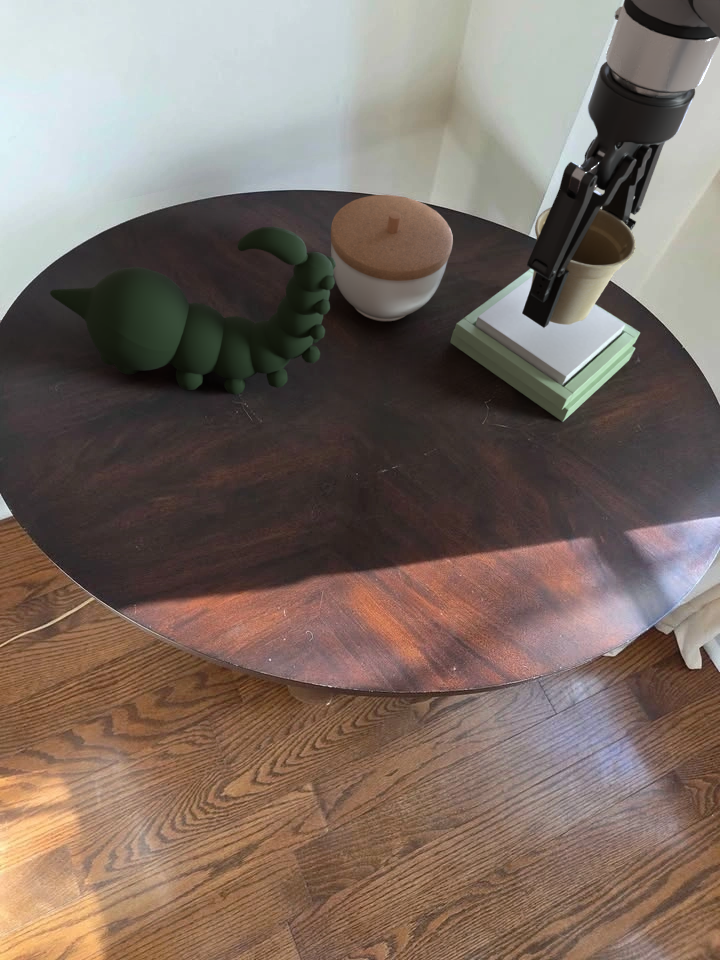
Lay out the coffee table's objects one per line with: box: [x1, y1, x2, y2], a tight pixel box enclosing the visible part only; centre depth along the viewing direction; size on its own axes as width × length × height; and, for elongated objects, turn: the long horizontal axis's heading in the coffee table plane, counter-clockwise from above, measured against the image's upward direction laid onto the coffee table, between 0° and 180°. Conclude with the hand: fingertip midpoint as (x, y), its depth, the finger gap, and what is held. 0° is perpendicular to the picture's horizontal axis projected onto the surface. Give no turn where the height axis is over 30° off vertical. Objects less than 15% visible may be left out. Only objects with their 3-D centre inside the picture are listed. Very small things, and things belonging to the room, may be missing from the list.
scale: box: [450, 268, 641, 423], centre depth 83 cm, size 15×14×4 cm
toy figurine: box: [49, 226, 336, 396], centre depth 71 cm, size 9×19×25 cm
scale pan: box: [475, 276, 625, 386], centre depth 82 cm, size 11×11×2 cm
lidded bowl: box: [330, 194, 454, 322], centre depth 83 cm, size 13×13×11 cm
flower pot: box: [531, 207, 637, 325], centre depth 76 cm, size 9×9×9 cm
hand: (561, 298), depth 78 cm, fingers closed on flower pot, 8 cm apart
